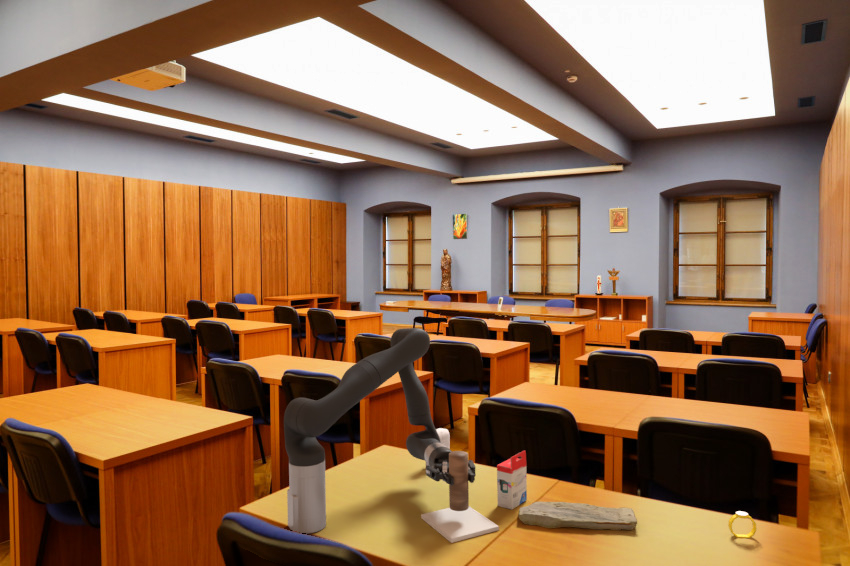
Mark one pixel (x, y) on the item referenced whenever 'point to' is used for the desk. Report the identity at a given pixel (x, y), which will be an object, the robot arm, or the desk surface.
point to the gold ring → (742, 515)
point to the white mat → (459, 523)
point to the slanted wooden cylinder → (459, 481)
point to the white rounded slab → (443, 437)
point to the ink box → (512, 481)
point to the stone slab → (577, 516)
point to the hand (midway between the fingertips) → (462, 480)
